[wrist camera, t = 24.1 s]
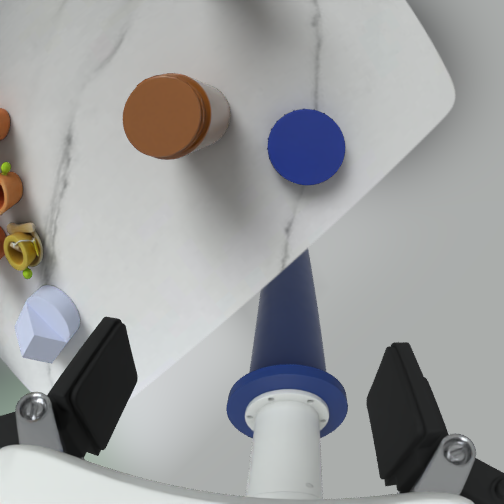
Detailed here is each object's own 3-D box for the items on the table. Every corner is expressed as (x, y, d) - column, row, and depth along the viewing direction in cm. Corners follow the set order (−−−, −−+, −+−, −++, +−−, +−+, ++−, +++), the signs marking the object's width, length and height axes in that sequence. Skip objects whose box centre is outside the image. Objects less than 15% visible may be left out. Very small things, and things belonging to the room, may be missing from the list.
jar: (242, 128, 30) (223, 133, 21) (185, 159, 32) (144, 179, 22) (211, 71, 28) (178, 52, 18) (155, 105, 30) (103, 104, 20)
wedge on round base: (61, 351, 46) (88, 316, 42) (42, 375, 40) (66, 343, 36) (25, 316, 44) (46, 274, 40) (3, 337, 38) (20, 296, 34)
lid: (254, 128, 30) (253, 129, 28) (322, 97, 28) (325, 96, 26) (288, 193, 33) (288, 198, 31) (353, 164, 31) (357, 167, 29)
